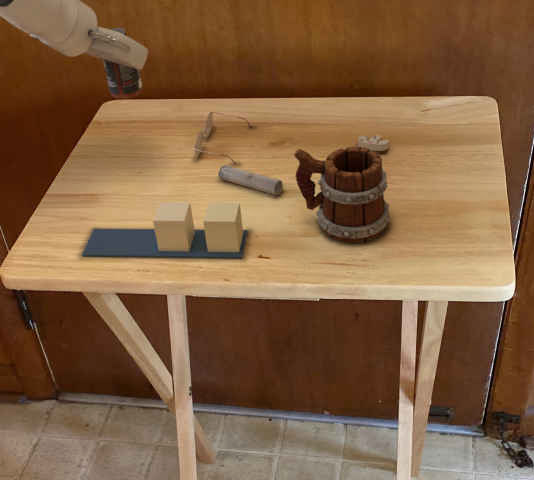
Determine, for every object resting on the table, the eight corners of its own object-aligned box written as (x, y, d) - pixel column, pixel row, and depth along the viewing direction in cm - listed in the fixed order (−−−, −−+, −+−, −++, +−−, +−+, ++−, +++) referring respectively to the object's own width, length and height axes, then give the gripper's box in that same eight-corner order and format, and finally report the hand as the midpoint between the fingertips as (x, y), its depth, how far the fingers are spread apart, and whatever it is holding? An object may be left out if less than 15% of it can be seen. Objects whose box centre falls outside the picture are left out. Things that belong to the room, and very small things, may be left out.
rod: (284, 190, 140) (282, 176, 139) (275, 198, 139) (274, 184, 137) (227, 175, 146) (225, 161, 144) (219, 182, 144) (217, 169, 142)
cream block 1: (158, 251, 130) (152, 220, 126) (165, 232, 133) (159, 202, 129) (189, 251, 129) (184, 220, 125) (195, 232, 133) (190, 202, 129)
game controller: (389, 140, 150) (389, 128, 148) (388, 175, 142) (389, 162, 140) (358, 140, 151) (358, 128, 149) (355, 175, 142) (355, 162, 141)
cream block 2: (207, 252, 129) (203, 221, 124) (213, 233, 132) (208, 202, 128) (239, 252, 128) (235, 221, 124) (243, 233, 132) (239, 202, 127)
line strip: (82, 256, 131) (81, 254, 131) (94, 230, 136) (93, 228, 136) (241, 258, 127) (241, 256, 127) (247, 231, 132) (247, 229, 132)
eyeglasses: (212, 125, 159) (212, 106, 156) (252, 130, 158) (252, 111, 155) (193, 163, 149) (192, 144, 146) (236, 168, 148) (235, 149, 145)
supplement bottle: (149, 89, 149) (138, 28, 141) (129, 103, 145) (116, 41, 138) (124, 82, 152) (112, 23, 144) (103, 96, 148) (90, 36, 140)
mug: (390, 248, 126) (374, 165, 117) (302, 252, 131) (280, 172, 121) (400, 205, 134) (387, 124, 125) (317, 210, 139) (298, 133, 130)
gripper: (122, 19, 128) (172, 55, 140) (35, -2, 137) (89, 32, 149) (108, 58, 128) (159, 90, 140) (22, 33, 138) (77, 65, 150)
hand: (122, 60), depth 145 cm, fingers closed on supplement bottle, 6 cm apart
